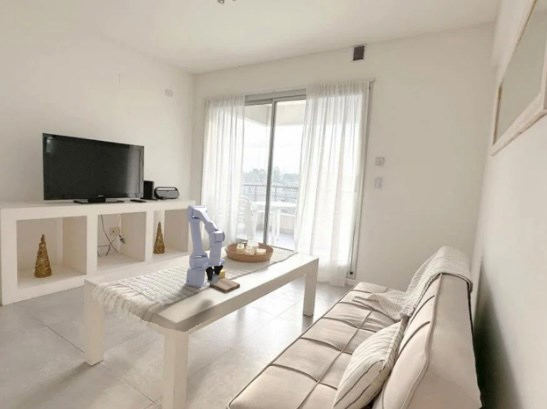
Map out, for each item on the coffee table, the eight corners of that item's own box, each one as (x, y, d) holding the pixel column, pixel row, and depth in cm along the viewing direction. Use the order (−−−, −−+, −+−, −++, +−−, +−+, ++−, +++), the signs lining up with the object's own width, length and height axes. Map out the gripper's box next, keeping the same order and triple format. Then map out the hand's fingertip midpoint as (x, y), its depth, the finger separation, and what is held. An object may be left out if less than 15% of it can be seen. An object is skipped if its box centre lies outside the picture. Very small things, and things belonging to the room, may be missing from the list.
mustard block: (220, 278, 181) (220, 272, 180) (215, 276, 183) (216, 270, 182) (224, 276, 184) (225, 270, 183) (220, 274, 186) (220, 268, 186)
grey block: (212, 284, 155) (213, 277, 154) (207, 282, 157) (207, 274, 156) (218, 282, 158) (218, 275, 157) (212, 280, 160) (213, 272, 160)
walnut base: (225, 292, 162) (225, 290, 162) (209, 285, 169) (209, 283, 169) (239, 286, 172) (240, 284, 172) (224, 280, 179) (224, 277, 179)
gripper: (210, 259, 147) (208, 285, 149) (230, 253, 159) (228, 278, 161) (200, 255, 151) (198, 281, 153) (220, 250, 163) (218, 274, 165)
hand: (212, 279), depth 157 cm, fingers closed on grey block, 4 cm apart
